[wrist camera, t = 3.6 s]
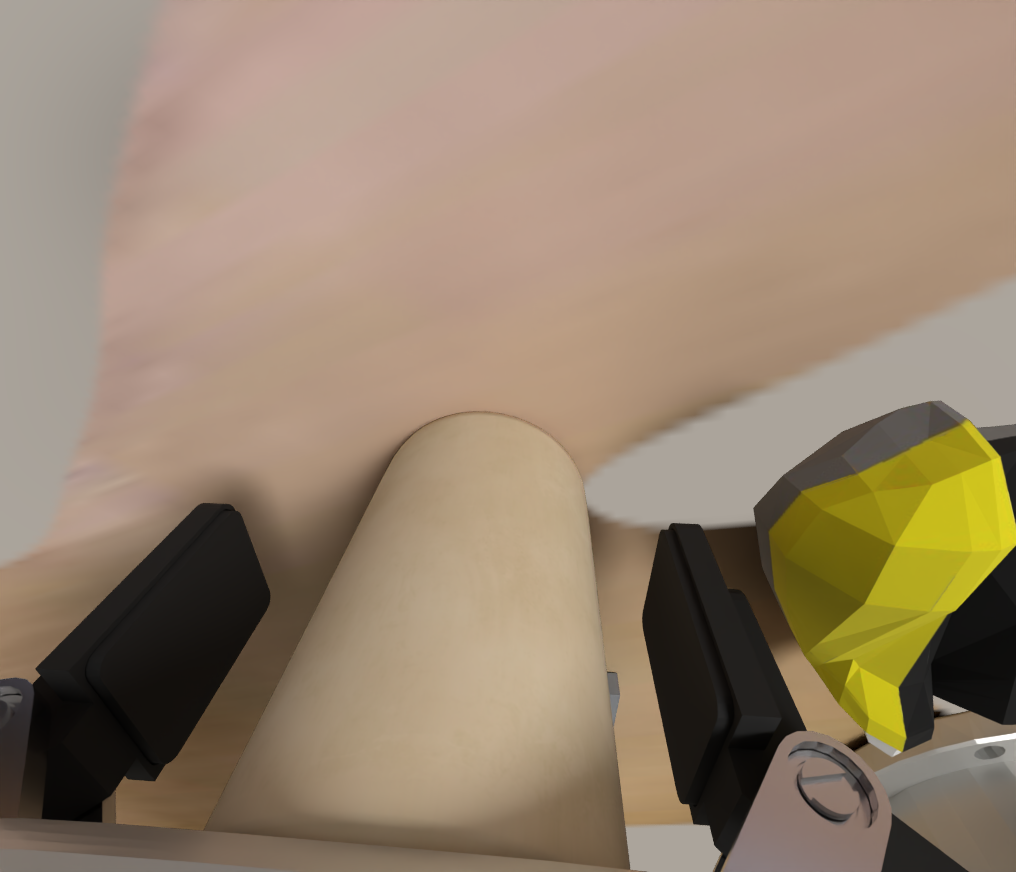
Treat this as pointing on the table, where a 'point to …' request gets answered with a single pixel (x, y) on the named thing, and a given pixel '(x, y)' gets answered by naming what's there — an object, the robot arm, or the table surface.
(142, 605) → the robot arm
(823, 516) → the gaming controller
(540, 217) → the table surface
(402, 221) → the table surface
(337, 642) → the candle
